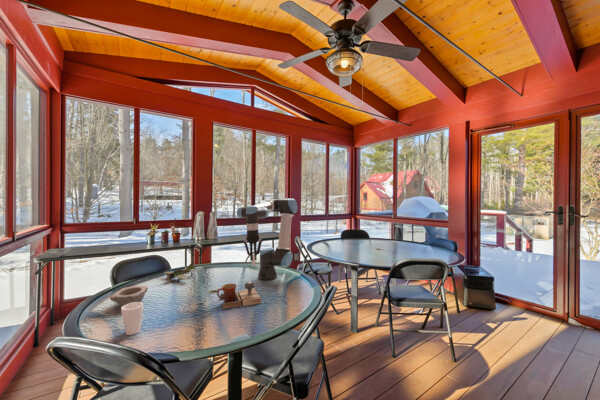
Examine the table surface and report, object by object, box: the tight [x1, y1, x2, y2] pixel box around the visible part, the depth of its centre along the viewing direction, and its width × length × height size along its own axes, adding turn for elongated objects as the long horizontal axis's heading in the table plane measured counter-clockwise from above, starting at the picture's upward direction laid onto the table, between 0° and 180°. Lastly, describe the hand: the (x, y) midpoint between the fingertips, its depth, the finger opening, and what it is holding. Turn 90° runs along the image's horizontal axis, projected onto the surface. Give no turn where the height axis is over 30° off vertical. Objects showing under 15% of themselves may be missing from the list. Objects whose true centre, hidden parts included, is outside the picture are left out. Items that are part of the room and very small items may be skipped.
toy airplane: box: [163, 263, 197, 283], centre depth 215 cm, size 31×25×10 cm
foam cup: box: [120, 301, 144, 336], centre depth 134 cm, size 10×9×13 cm
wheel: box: [244, 281, 255, 290], centre depth 173 cm, size 6×6×3 cm
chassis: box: [219, 288, 262, 310], centre depth 170 cm, size 18×22×6 cm
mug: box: [216, 283, 237, 303], centre depth 168 cm, size 12×9×10 cm
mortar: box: [109, 285, 149, 308], centre depth 165 cm, size 17×17×9 cm
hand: (253, 265), depth 176 cm, fingers closed
